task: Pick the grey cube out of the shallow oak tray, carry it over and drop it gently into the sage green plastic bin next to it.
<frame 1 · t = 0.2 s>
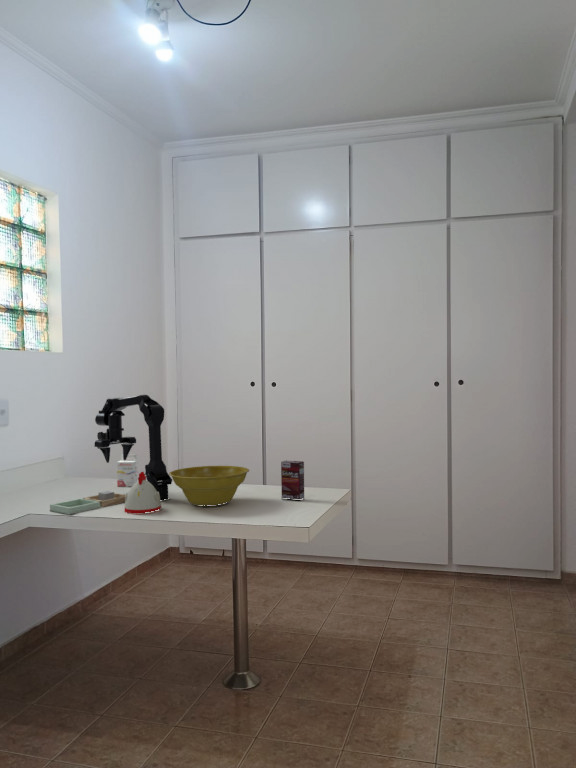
hand: (116, 461, 293), 14 cm above the counter, tool pointing down, fingers open, 9 cm apart
kitchen timer: (143, 510, 259), on the counter
supplement box: (293, 500, 273), on the counter
green bin: (75, 509, 262), on the counter
planter bowl: (210, 504, 268), on the counter
grey cube: (106, 497, 274), in the oak tray
oak tray: (106, 502, 274), on the counter
ink cartridge box: (127, 486, 314), on the counter
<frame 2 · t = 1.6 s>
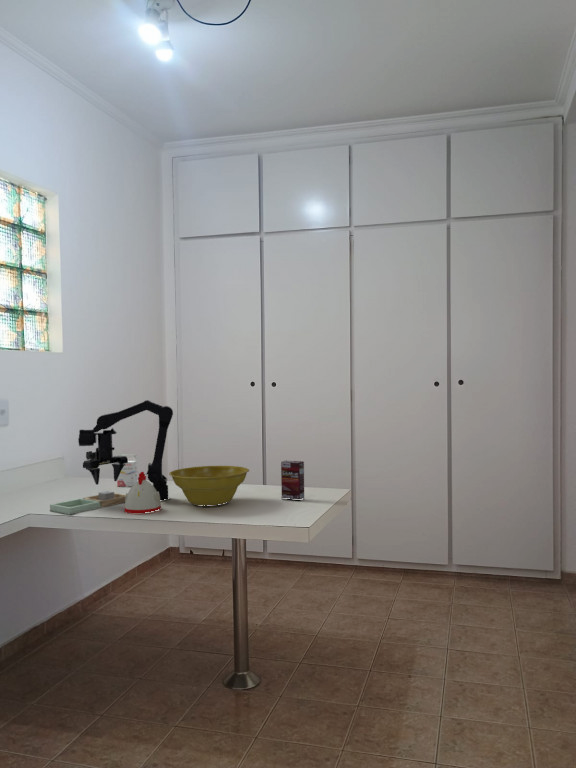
hand: (106, 482, 274), 8 cm above the counter, tool pointing down, fingers open, 9 cm apart
nothing on the counter moved.
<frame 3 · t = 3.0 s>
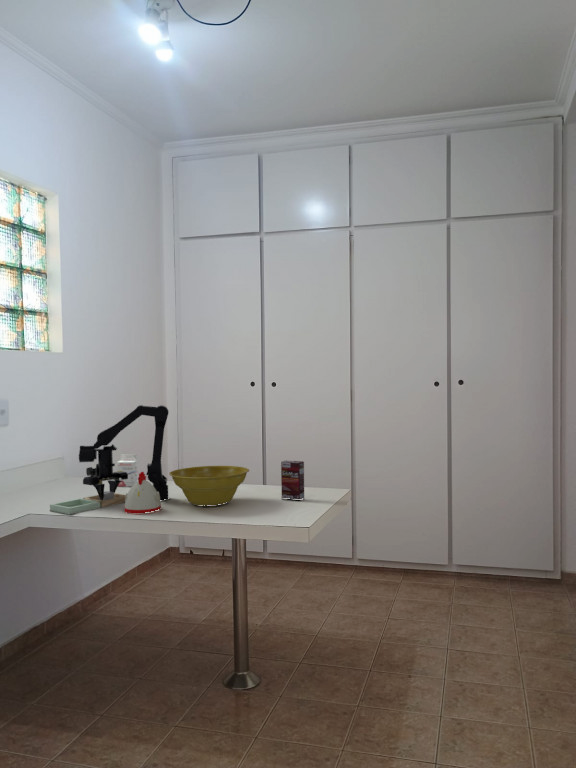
hand: (106, 498, 274), 2 cm above the counter, tool pointing down, fingers closed on grey cube, 4 cm apart
grey cube: (106, 497, 274), in the oak tray, touching gripper
everything else where it was.
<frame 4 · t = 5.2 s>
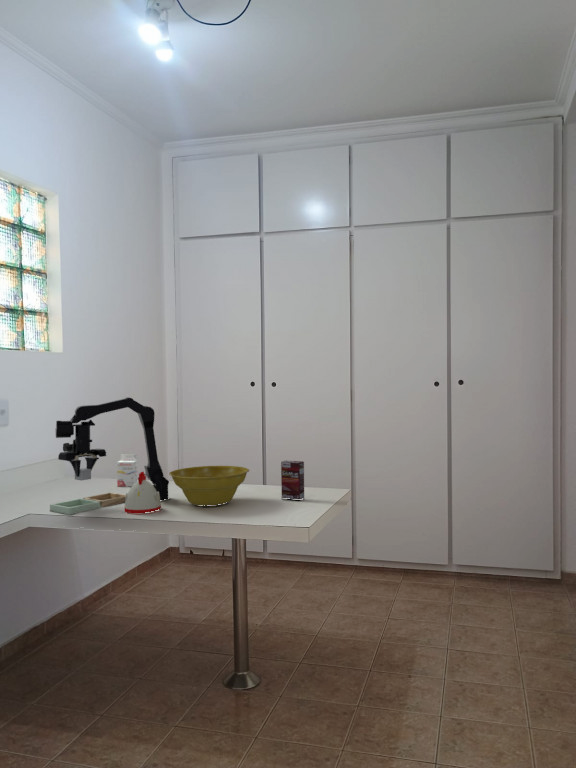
hand: (82, 476, 265), 13 cm above the counter, tool pointing down, fingers closed on grey cube, 4 cm apart
grey cube: (82, 474, 265), point 13 cm above the counter, touching gripper
everything else where it was.
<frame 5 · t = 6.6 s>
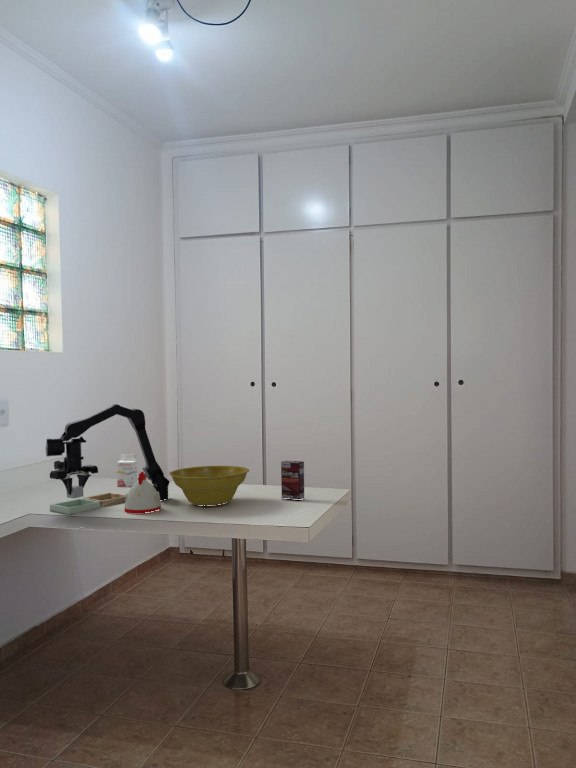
hand: (75, 493, 262), 6 cm above the counter, tool pointing down, fingers closed on grey cube, 4 cm apart
grey cube: (74, 491, 262), point 7 cm above the counter, touching gripper
everything else where it was.
when the fingers open (3 cm above the counter, at t = 7.5 s): grey cube drops 2 cm, resting on green bin.
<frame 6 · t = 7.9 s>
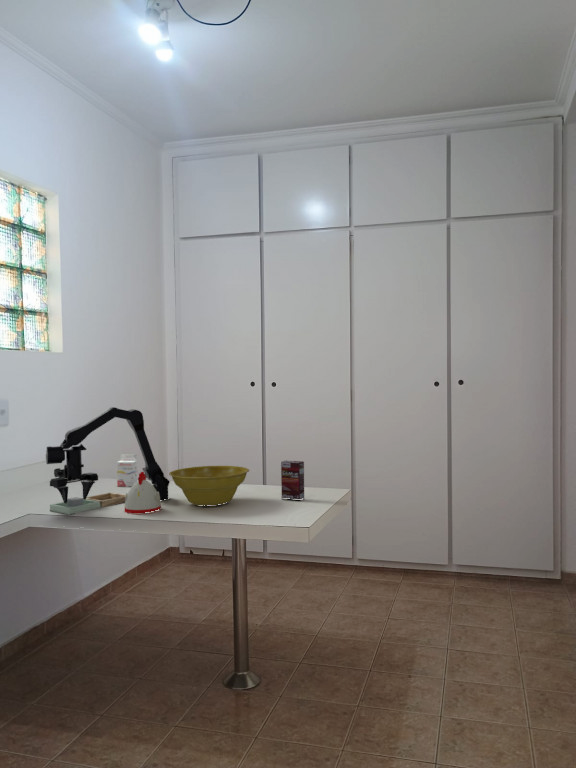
hand: (75, 501, 262), 3 cm above the counter, tool pointing down, fingers open, 8 cm apart
grey cube: (75, 503, 262), in the green bin
everything else where it was.
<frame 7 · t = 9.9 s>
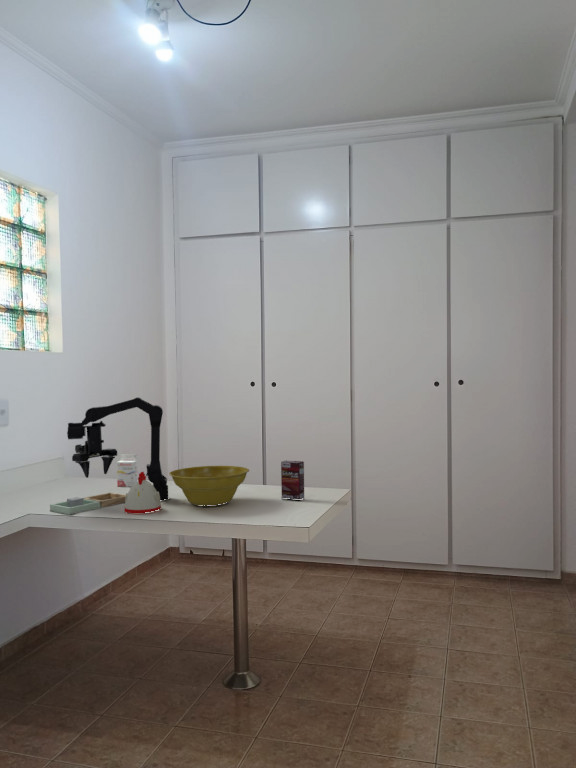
hand: (96, 475, 273), 11 cm above the counter, tool pointing down, fingers open, 9 cm apart
nothing on the counter moved.
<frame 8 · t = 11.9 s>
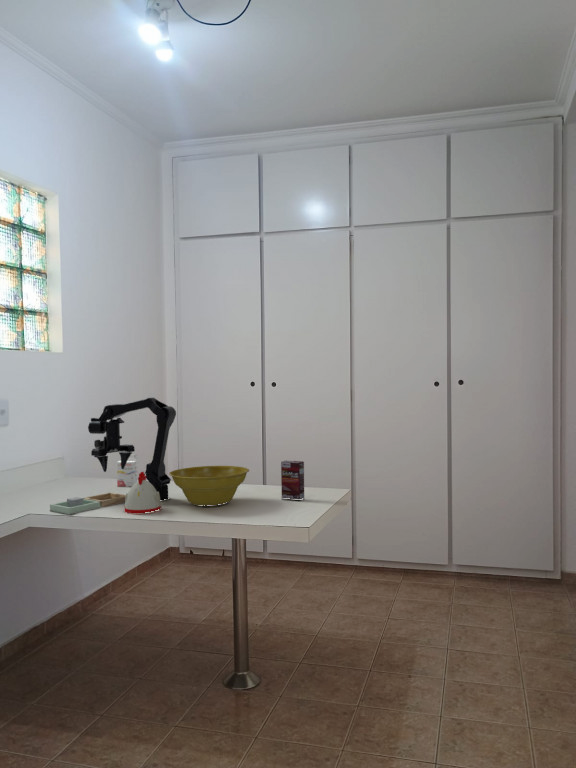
hand: (113, 470, 283), 12 cm above the counter, tool pointing down, fingers open, 9 cm apart
nothing on the counter moved.
at the end: grey cube inside the target area on the green bin (0.1 cm from its centre), point 2.3 cm above the green bin's base; the gripper is holding nothing; grey cube moved 14.9 cm from its start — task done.
